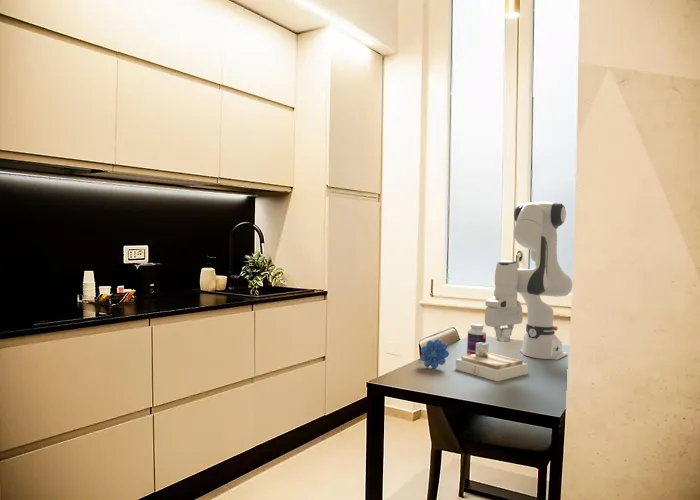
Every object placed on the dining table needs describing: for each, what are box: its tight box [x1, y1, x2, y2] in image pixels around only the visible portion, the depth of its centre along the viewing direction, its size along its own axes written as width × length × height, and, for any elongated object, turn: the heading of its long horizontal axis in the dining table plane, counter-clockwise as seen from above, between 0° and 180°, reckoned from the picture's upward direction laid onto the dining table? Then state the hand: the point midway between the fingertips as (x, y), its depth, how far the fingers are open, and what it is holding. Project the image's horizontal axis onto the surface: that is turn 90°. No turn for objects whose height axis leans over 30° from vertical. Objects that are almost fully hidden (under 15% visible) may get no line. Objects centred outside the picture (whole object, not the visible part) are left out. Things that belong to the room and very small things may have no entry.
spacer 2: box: [496, 326, 511, 343], centre depth 202 cm, size 5×5×5 cm
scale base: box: [455, 357, 529, 382], centre depth 206 cm, size 21×20×4 cm
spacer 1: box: [476, 342, 490, 357], centre depth 210 cm, size 5×5×5 cm
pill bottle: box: [466, 323, 487, 356], centre depth 232 cm, size 8×8×14 cm
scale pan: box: [460, 351, 524, 369], centre depth 206 cm, size 17×17×1 cm
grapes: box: [419, 338, 450, 369], centre depth 209 cm, size 12×7×12 cm, turn 71°
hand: (503, 336), depth 202 cm, fingers closed on spacer 2, 5 cm apart
